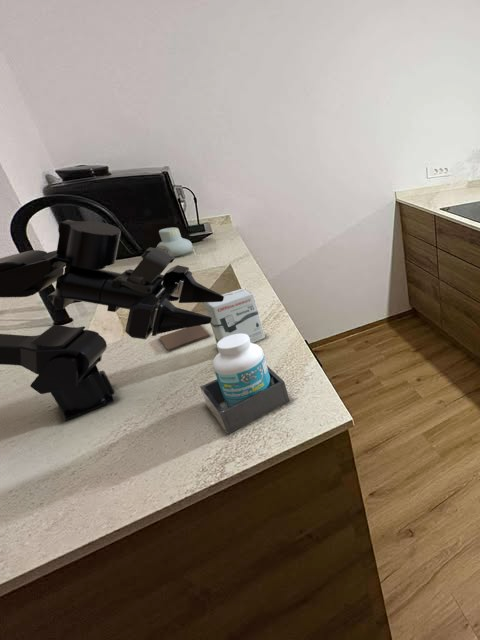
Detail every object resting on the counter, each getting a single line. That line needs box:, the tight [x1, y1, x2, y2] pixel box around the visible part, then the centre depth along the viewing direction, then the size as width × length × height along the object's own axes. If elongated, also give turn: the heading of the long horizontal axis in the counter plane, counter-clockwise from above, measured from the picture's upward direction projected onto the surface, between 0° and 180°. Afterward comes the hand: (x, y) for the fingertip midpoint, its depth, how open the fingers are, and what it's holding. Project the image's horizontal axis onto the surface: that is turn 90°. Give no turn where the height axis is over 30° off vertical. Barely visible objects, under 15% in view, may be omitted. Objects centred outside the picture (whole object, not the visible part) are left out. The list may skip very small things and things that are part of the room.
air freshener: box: [155, 227, 193, 258], centre depth 141 cm, size 11×8×10 cm
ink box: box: [203, 288, 266, 344], centre depth 84 cm, size 9×5×12 cm, turn 143°
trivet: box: [159, 325, 211, 352], centre depth 89 cm, size 8×8×1 cm
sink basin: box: [199, 365, 290, 435], centre depth 67 cm, size 10×10×4 cm
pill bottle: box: [212, 334, 272, 408], centre depth 65 cm, size 8×7×14 cm
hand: (217, 309), depth 70 cm, fingers open, 9 cm apart
